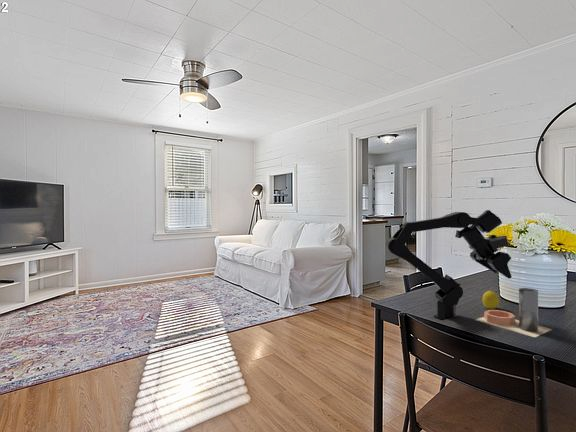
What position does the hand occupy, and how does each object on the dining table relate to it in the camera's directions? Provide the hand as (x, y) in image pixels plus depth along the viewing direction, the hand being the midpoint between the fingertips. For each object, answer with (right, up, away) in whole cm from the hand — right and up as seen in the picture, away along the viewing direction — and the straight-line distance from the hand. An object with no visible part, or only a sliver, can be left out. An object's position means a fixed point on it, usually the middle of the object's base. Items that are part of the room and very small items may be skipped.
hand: (503, 275), depth 117 cm
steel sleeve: (+1, -16, -12) cm, 19 cm away
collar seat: (-4, -17, -4) cm, 17 cm away
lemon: (+2, -16, +10) cm, 19 cm away
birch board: (-2, -17, -7) cm, 18 cm away
